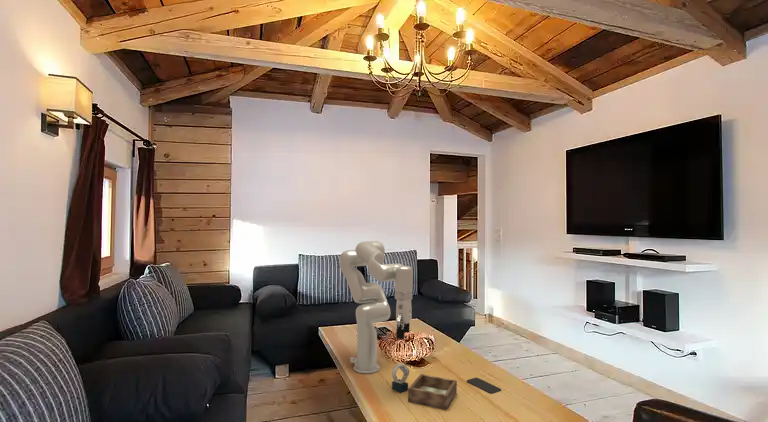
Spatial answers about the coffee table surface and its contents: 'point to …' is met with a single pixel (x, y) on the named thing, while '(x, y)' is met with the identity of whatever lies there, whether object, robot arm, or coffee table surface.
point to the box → (432, 391)
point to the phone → (483, 385)
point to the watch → (401, 384)
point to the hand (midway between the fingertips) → (403, 335)
